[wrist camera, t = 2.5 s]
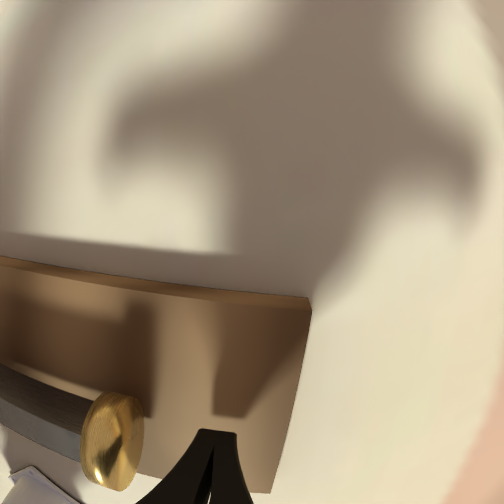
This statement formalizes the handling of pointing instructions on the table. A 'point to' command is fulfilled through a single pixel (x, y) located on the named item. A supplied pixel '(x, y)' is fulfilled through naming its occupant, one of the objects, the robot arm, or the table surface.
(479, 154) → the table surface
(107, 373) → the board
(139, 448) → the shaft
